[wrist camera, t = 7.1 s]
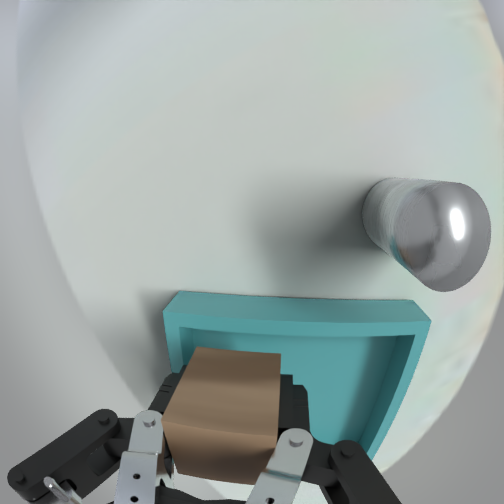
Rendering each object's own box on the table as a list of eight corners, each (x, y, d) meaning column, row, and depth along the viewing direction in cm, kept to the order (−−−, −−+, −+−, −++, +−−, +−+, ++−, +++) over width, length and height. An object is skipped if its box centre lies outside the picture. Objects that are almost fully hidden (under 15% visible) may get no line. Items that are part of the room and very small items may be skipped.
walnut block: (196, 346, 13) (160, 420, 8) (281, 353, 13) (277, 435, 8) (203, 403, 14) (178, 473, 9) (275, 410, 14) (270, 485, 9)
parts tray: (179, 290, 16) (162, 311, 14) (413, 300, 15) (431, 320, 12) (199, 438, 20) (191, 461, 18) (362, 444, 19) (367, 467, 16)
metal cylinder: (364, 173, 14) (413, 175, 8) (429, 182, 13) (495, 190, 7) (359, 248, 15) (399, 292, 9) (422, 251, 14) (479, 291, 9)
